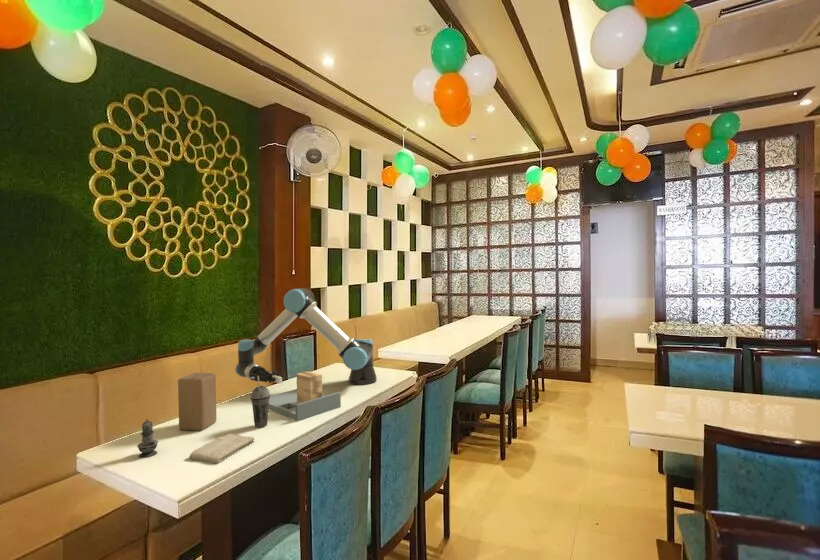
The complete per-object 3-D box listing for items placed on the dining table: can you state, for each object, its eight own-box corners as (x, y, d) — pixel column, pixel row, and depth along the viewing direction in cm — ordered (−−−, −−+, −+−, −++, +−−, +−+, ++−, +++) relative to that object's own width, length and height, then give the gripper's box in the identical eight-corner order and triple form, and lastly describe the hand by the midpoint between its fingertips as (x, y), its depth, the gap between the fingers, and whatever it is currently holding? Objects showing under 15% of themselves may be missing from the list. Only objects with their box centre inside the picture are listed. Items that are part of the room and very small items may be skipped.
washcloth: (256, 443, 144) (256, 434, 144) (218, 466, 127) (218, 456, 127) (229, 439, 148) (229, 430, 148) (188, 461, 131) (188, 451, 131)
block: (217, 421, 164) (216, 372, 163) (202, 431, 154) (201, 379, 153) (194, 421, 165) (193, 372, 164) (177, 430, 155) (176, 378, 154)
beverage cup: (274, 423, 161) (273, 373, 161) (262, 430, 154) (261, 378, 154) (259, 421, 163) (258, 372, 163) (246, 428, 156) (245, 376, 156)
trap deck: (299, 393, 201) (299, 380, 201) (340, 407, 180) (340, 392, 180) (257, 404, 184) (257, 390, 184) (297, 421, 163) (297, 405, 163)
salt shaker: (143, 450, 137) (142, 415, 137) (162, 450, 138) (161, 415, 138) (133, 458, 132) (132, 422, 131) (152, 458, 132) (151, 421, 132)
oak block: (308, 399, 183) (308, 371, 182) (322, 404, 176) (321, 374, 176) (297, 403, 178) (296, 373, 178) (310, 407, 172) (310, 377, 171)
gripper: (267, 377, 212) (293, 385, 196) (243, 382, 202) (268, 391, 186) (267, 363, 212) (292, 369, 196) (243, 367, 202) (267, 375, 186)
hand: (280, 380), depth 191 cm, fingers closed
